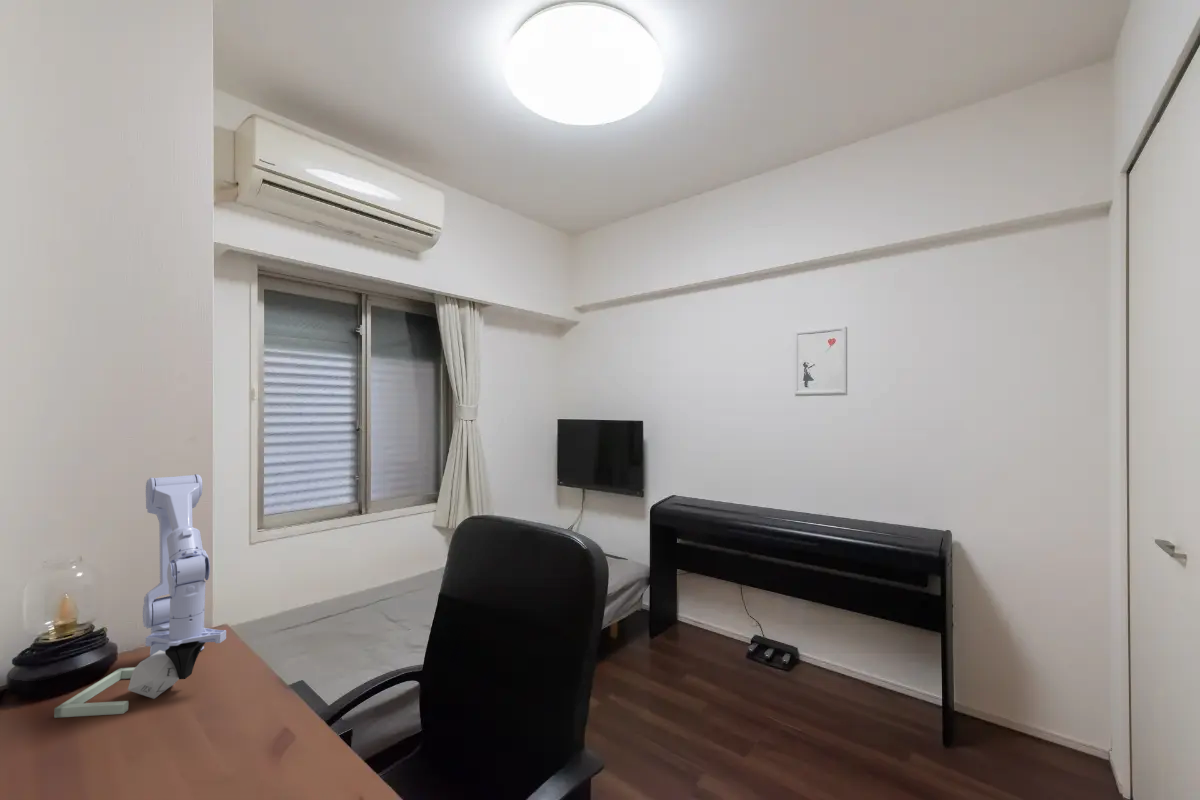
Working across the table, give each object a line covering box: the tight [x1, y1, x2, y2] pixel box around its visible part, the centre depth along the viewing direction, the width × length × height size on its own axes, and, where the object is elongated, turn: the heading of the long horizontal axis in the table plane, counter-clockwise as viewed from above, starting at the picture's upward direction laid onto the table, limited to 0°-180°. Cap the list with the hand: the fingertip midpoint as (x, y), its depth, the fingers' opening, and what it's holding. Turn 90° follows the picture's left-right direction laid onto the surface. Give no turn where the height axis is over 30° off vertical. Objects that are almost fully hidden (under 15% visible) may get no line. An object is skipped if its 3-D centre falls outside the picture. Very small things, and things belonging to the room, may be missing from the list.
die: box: [127, 650, 180, 700], centre depth 100 cm, size 8×9×10 cm
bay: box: [53, 666, 136, 719], centre depth 100 cm, size 14×12×2 cm
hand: (185, 676), depth 101 cm, fingers closed
